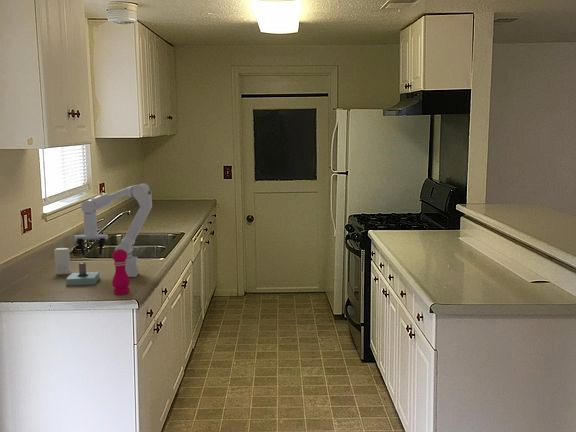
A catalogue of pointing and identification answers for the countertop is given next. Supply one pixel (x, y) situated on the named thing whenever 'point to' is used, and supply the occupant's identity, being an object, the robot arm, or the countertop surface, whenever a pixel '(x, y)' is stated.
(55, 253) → the skincare box
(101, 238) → the robot arm
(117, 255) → the pepper mill
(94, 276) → the socket block
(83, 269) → the metal peg
